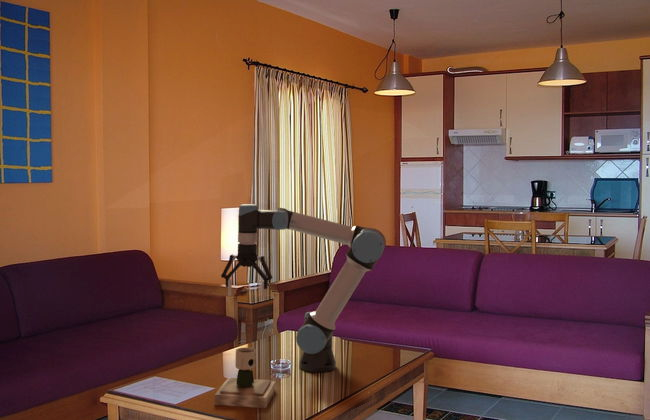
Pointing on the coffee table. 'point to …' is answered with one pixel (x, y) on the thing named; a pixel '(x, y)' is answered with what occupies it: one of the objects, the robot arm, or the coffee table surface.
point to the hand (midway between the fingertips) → (246, 296)
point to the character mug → (245, 366)
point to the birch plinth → (245, 393)
